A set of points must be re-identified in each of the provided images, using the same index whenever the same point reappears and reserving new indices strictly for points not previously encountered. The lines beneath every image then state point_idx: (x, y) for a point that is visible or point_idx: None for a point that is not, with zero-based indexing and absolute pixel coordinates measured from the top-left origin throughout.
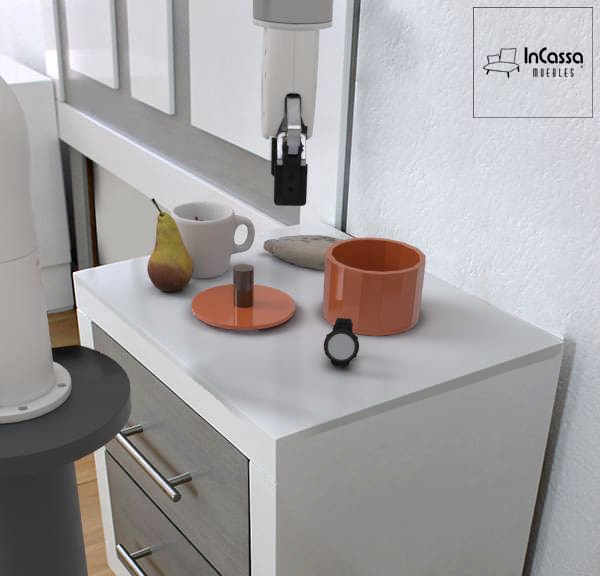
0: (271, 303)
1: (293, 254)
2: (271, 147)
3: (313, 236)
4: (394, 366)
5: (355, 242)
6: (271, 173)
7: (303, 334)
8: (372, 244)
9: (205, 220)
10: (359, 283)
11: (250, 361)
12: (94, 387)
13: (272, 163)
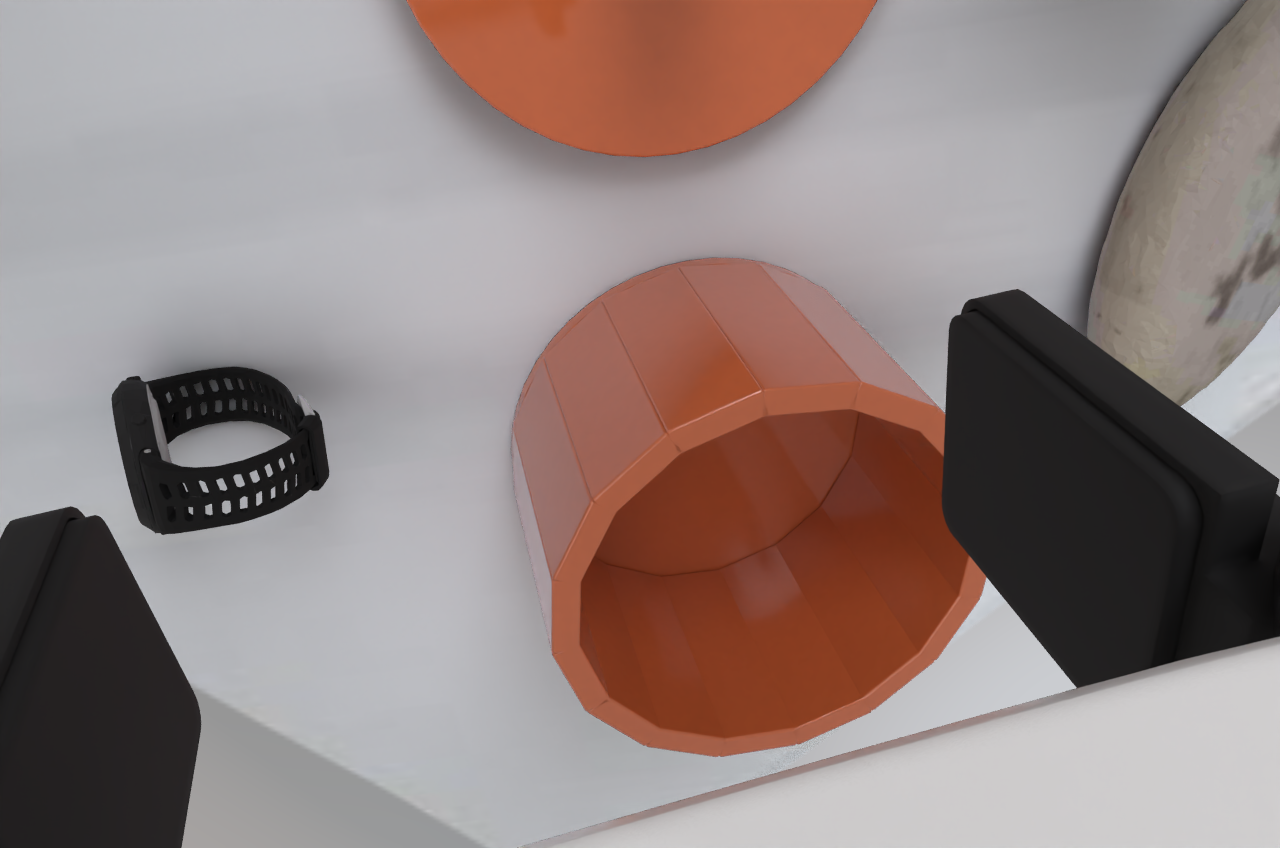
0: (683, 35)
1: (1220, 71)
2: (1186, 411)
3: None
4: (275, 562)
5: None
6: (976, 302)
7: (462, 210)
8: None
9: None
10: (548, 534)
11: (90, 6)
12: None
13: (1037, 352)
